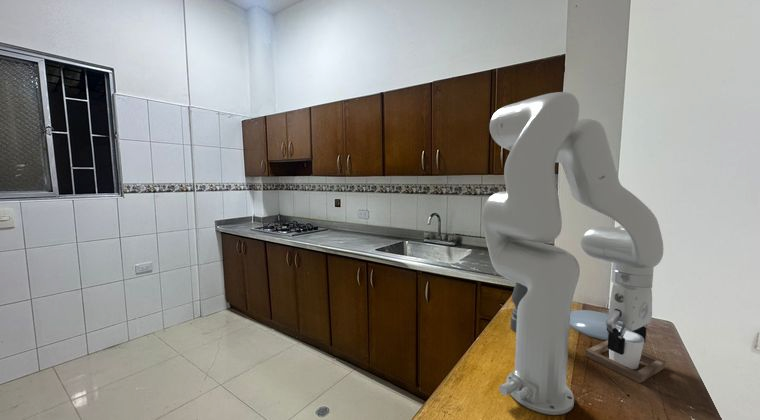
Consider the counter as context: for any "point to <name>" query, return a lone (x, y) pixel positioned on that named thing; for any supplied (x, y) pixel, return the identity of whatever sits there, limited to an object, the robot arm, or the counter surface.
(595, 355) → the pocket frame
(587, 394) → the counter surface
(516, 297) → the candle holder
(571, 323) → the plate
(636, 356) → the shot glass
